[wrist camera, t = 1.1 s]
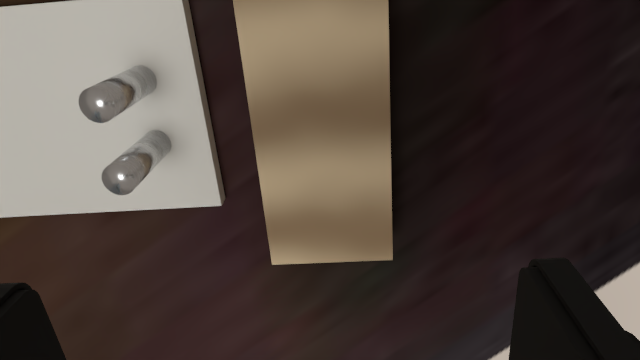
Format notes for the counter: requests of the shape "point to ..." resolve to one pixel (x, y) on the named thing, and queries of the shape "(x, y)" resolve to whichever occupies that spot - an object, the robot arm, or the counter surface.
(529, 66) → the counter surface
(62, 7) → the peg stand
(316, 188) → the oak shelf board
